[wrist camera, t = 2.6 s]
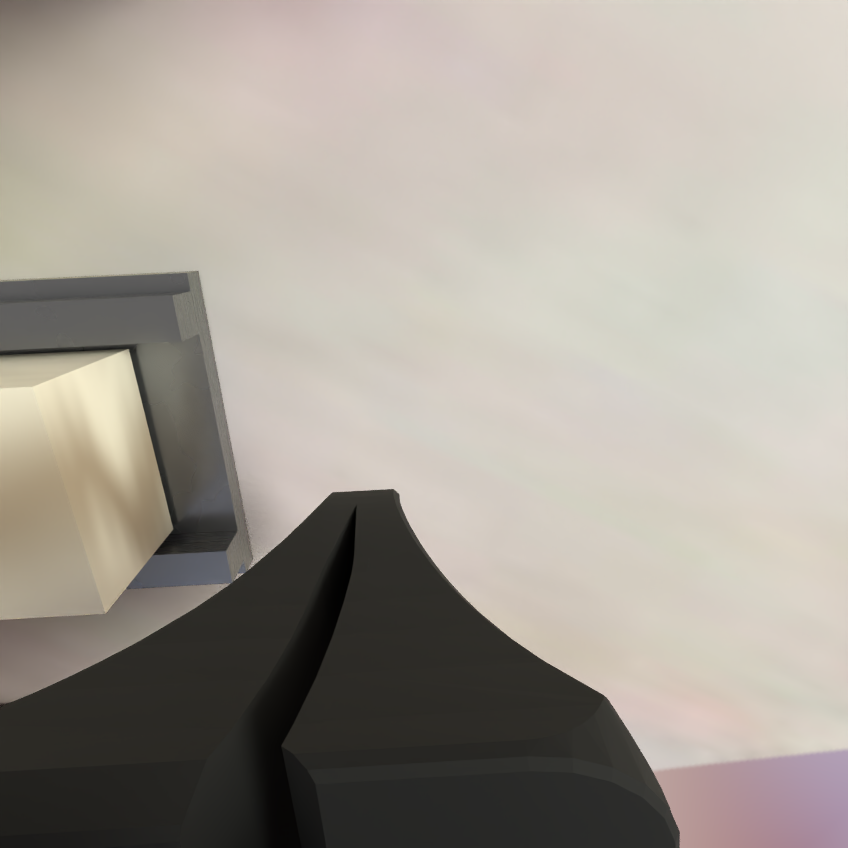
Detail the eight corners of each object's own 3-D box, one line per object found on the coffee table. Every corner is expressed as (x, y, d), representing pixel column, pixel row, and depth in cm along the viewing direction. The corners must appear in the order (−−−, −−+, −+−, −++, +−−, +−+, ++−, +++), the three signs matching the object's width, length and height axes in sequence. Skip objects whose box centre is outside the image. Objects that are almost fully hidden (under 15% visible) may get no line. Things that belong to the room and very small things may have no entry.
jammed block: (173, 529, 17) (105, 613, 13) (-12, 539, 17) (-134, 627, 13) (128, 348, 15) (32, 386, 11) (-83, 359, 14) (-254, 401, 11)
